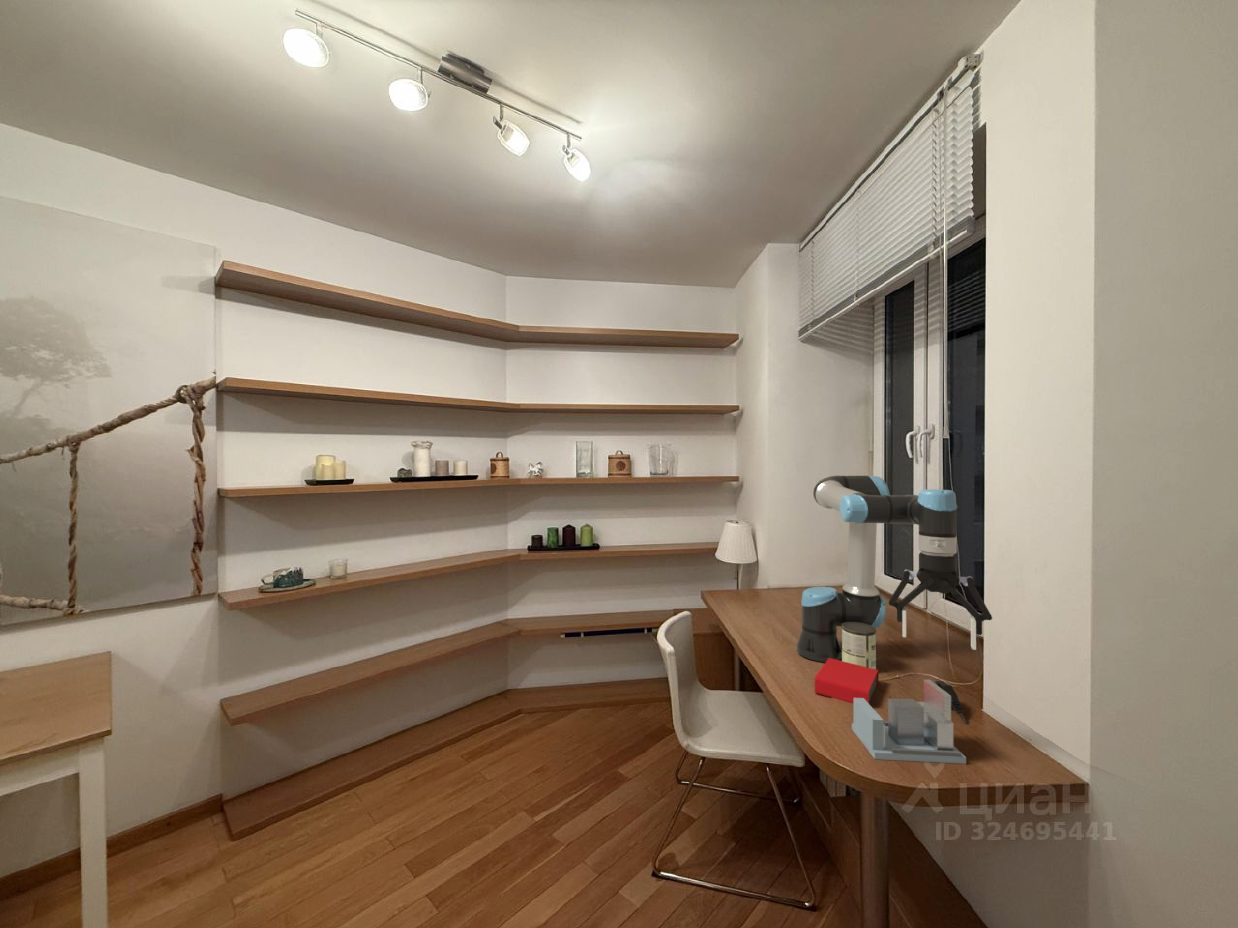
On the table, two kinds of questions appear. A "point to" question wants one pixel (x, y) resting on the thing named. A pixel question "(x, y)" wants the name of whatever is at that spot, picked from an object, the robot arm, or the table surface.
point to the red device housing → (846, 681)
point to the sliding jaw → (937, 717)
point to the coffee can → (859, 644)
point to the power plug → (952, 698)
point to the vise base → (885, 748)
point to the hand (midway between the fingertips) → (937, 641)
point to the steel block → (906, 721)
